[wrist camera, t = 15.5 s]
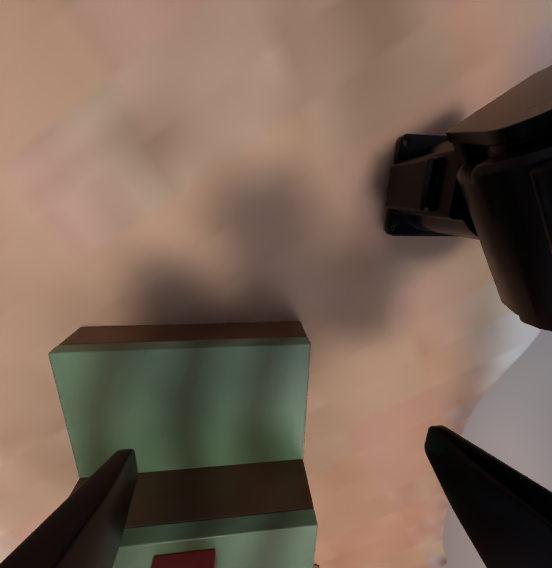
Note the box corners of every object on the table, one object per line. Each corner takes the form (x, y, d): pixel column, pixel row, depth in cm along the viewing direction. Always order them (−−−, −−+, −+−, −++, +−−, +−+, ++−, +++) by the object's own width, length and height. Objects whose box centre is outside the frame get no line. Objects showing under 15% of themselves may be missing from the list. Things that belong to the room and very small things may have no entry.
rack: (300, 321, 22) (331, 388, 14) (290, 504, 28) (308, 621, 20) (80, 326, 20) (-21, 407, 12) (120, 522, 26) (69, 658, 18)
